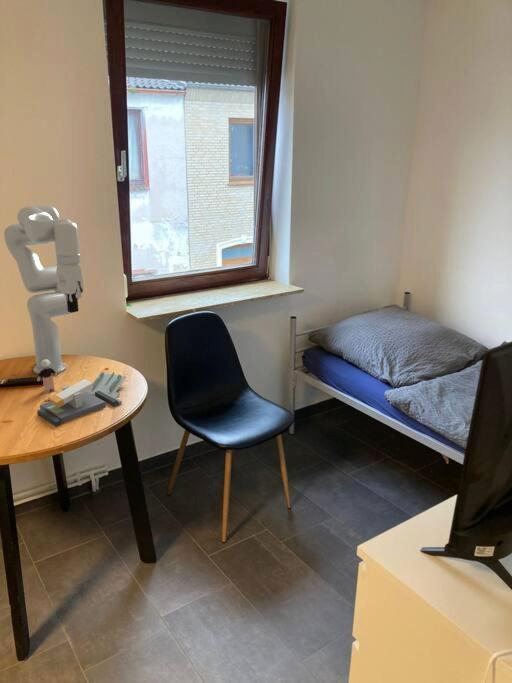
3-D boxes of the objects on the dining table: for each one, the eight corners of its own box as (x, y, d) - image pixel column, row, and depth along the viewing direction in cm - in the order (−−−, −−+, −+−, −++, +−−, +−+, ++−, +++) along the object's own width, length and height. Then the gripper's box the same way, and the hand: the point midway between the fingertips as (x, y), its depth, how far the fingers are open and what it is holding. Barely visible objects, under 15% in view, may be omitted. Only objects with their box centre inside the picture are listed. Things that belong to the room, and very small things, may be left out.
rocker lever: (49, 402, 185) (47, 397, 184) (84, 383, 194) (83, 378, 193) (59, 408, 181) (57, 403, 180) (94, 388, 190) (93, 383, 189)
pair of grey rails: (38, 415, 183) (37, 410, 183) (101, 393, 201) (100, 388, 200) (57, 428, 175) (57, 423, 175) (121, 403, 193) (121, 399, 192)
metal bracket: (95, 367, 210) (131, 372, 206) (99, 379, 213) (133, 383, 210) (77, 391, 199) (114, 396, 195) (80, 403, 202) (117, 408, 199)
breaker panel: (40, 410, 187) (38, 391, 185) (84, 394, 199) (82, 377, 197) (61, 423, 178) (59, 404, 176) (105, 406, 190) (104, 388, 188)
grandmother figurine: (53, 386, 205) (50, 355, 201) (60, 389, 203) (57, 357, 199) (36, 393, 199) (32, 361, 195) (43, 396, 197) (39, 364, 193)
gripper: (46, 257, 184) (52, 309, 190) (70, 264, 175) (75, 318, 181) (66, 255, 190) (71, 305, 196) (90, 261, 180) (94, 314, 186)
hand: (73, 311), depth 188 cm, fingers closed
